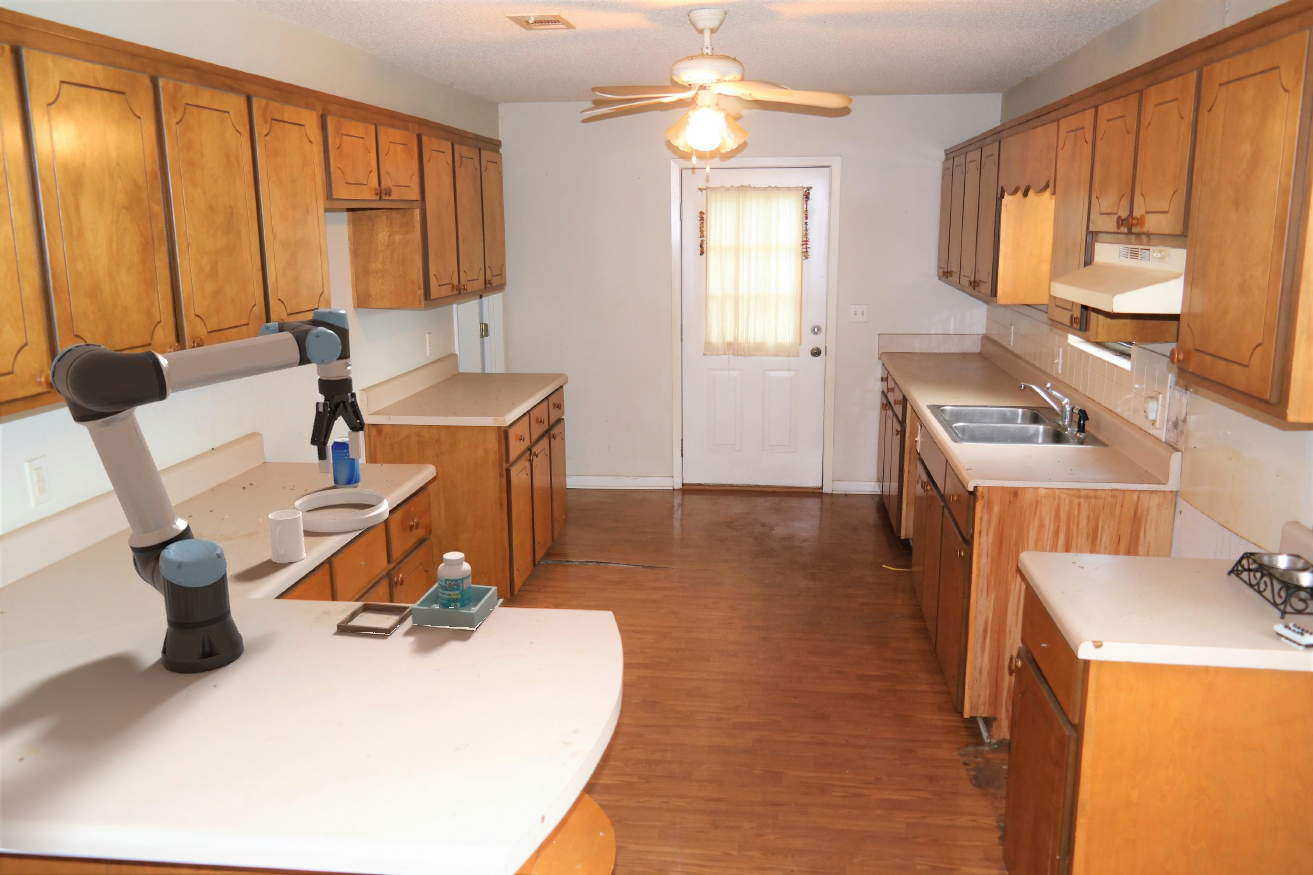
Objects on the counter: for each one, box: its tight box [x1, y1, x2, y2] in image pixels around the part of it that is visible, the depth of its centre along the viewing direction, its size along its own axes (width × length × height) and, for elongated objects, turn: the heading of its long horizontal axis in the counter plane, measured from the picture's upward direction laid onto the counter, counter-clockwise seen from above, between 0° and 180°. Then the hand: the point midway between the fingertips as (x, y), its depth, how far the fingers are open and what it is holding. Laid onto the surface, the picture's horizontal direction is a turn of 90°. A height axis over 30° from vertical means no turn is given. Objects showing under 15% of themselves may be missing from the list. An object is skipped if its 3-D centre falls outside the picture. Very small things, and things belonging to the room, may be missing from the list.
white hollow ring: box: [292, 487, 390, 533], centre depth 275 cm, size 27×27×6 cm
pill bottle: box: [436, 551, 472, 611], centre depth 209 cm, size 8×7×14 cm
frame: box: [336, 601, 413, 634], centre depth 206 cm, size 12×12×2 cm
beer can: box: [330, 436, 361, 489], centre depth 305 cm, size 8×8×16 cm
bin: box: [411, 581, 498, 628], centre depth 210 cm, size 15×15×4 cm
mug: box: [268, 509, 307, 564], centre depth 240 cm, size 12×8×12 cm
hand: (341, 465), depth 218 cm, fingers open, 13 cm apart
